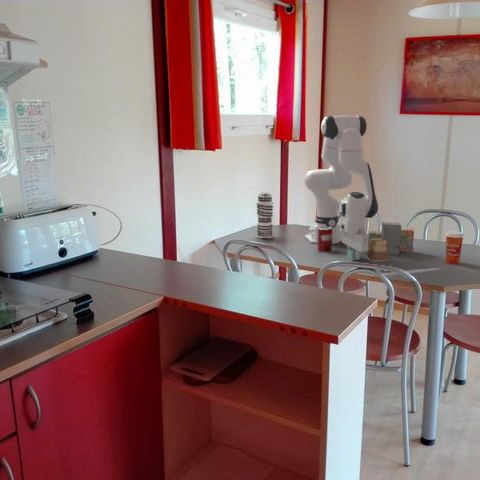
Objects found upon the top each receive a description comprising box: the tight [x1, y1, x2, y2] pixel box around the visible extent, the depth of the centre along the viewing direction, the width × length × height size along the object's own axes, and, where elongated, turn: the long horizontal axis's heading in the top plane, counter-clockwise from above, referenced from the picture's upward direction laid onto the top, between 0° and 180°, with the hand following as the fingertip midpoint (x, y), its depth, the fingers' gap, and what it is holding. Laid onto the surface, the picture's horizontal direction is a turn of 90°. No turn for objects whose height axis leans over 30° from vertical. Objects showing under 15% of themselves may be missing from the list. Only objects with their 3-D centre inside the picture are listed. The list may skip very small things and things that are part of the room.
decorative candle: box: [256, 191, 274, 239], centre depth 297 cm, size 9×9×25 cm
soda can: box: [317, 227, 333, 253], centre depth 266 cm, size 7×7×12 cm
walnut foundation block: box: [366, 249, 389, 262], centre depth 248 cm, size 7×7×4 cm
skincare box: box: [380, 221, 402, 256], centre depth 258 cm, size 8×7×16 cm
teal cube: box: [346, 249, 362, 262], centre depth 249 cm, size 4×4×4 cm
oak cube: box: [369, 238, 386, 252], centre depth 247 cm, size 6×6×5 cm
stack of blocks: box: [368, 226, 415, 255], centre depth 265 cm, size 21×6×12 cm, turn 69°
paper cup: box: [445, 230, 465, 265], centre depth 244 cm, size 8×8×14 cm
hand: (353, 256), depth 249 cm, fingers closed on teal cube, 4 cm apart
